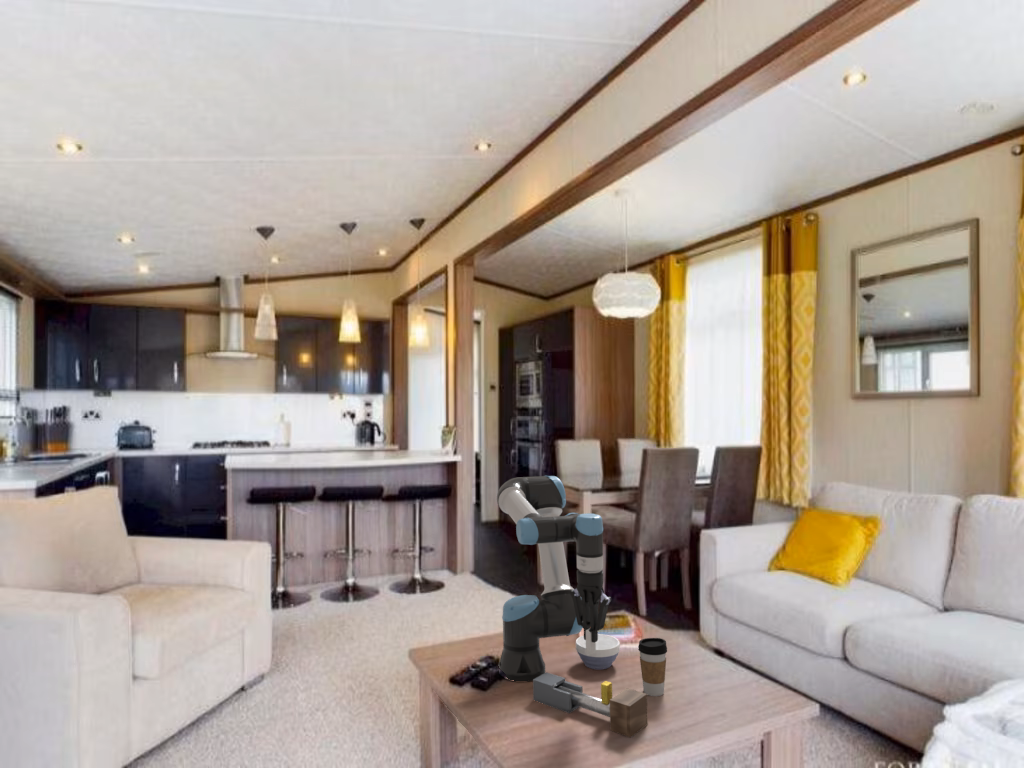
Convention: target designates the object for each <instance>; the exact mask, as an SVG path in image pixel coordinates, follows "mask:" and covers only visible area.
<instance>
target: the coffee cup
mask: <svg viewBox="0 0 1024 768" xmlns="http://www.w3.org/2000/svg"><path fill="white" fill-rule="evenodd" d="M637 647H638V648H637V649H638V651H639V662H640V670H641V678H642V679H641V680H642V688H643V693H645V694H647V696H651V697H659V696H662V695H664V693H665V680H666V668H667V667H666V665H667V657H666V655H667V652H668V647H667V641H666V640H665V639H664V638H660V637H646V638H642V639H640V640H639V641H638V646H637Z"/></svg>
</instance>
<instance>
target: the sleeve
mask: <svg viewBox="0 0 1024 768" xmlns="http://www.w3.org/2000/svg"><path fill="white" fill-rule="evenodd" d="M559 686H562V687H566V688H569V689H572V690H575V691H578V692H581V693H583V686H582V685H579V684H576V683H574V682H570V681H567V680H566V677H563V676H560V675H556V674H554V673H552V672H548V671H545V673H544V674H543V675H541V676H539V677H537V678H535V679H533V681H532V691H533V693H532V697H533V698H532V700H535V701H534V702H536V701H538V702H537V703H539V702H540V703H539V704H542V703H543V704H542V705H545V706H547V705H548V706H547V707H550V706H551V708H554V709H557V710H559V711H562V712H565V713H567V714H571V713H573V712H574V711H575V710H577V709H578V708H580V707H579V706H576V705H573V704H571V693H569V692H566V691H563V690H560V689H557V688H558V687H559Z"/></svg>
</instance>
